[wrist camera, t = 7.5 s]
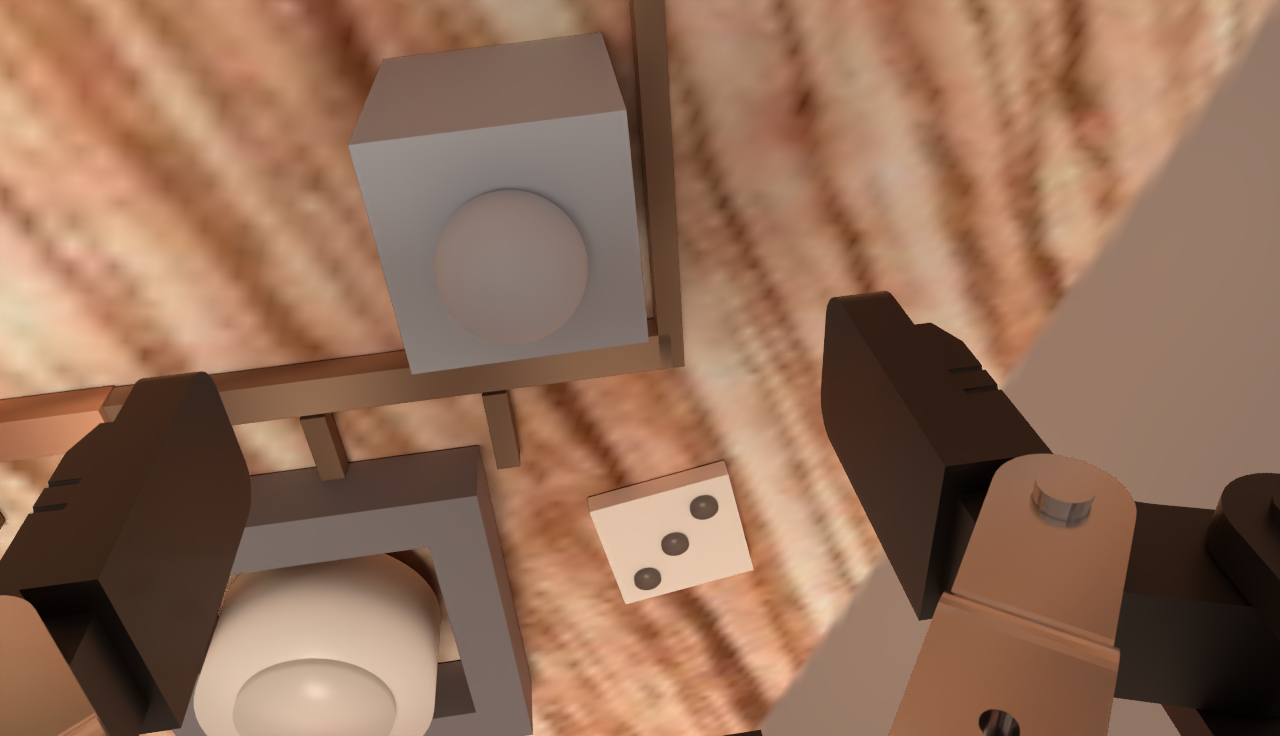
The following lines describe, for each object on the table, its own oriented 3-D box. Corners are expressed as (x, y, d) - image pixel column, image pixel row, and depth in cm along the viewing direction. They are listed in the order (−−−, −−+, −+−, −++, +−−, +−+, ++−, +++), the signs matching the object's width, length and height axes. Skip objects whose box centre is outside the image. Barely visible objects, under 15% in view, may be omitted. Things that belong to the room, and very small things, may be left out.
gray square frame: (478, 445, 25) (476, 495, 23) (531, 680, 30) (532, 734, 29) (95, 496, 24) (65, 552, 22) (221, 727, 30) (205, 784, 28)
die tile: (724, 460, 26) (729, 477, 25) (749, 555, 28) (754, 573, 28) (587, 497, 26) (589, 516, 25) (623, 589, 28) (626, 608, 28)
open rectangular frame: (649, -170, 17) (656, -166, 16) (684, 429, 25) (690, 453, 24) (-690, -42, 16) (-756, -31, 15) (-198, 548, 24) (-223, 577, 23)
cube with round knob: (600, 32, 19) (640, 152, 13) (622, 228, 22) (662, 399, 16) (383, 57, 19) (328, 192, 13) (430, 253, 21) (402, 437, 16)
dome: (417, 529, 25) (406, 624, 22) (458, 669, 28) (452, 767, 26) (192, 560, 25) (153, 661, 22) (261, 698, 28) (234, 801, 25)
